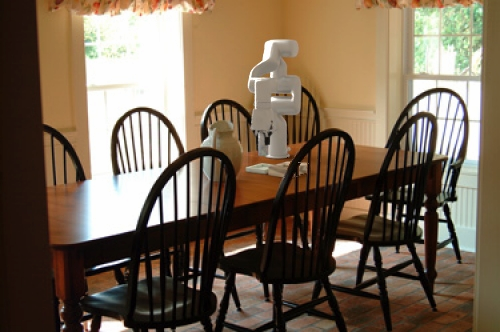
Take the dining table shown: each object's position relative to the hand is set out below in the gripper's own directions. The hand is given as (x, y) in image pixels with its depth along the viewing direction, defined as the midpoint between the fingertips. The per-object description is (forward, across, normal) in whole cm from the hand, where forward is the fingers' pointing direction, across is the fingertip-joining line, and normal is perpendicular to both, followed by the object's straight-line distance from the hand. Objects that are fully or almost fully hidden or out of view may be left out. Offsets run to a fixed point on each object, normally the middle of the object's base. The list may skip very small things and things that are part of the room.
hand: (263, 144), depth 349 cm
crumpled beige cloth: (+13, +14, +1) cm, 19 cm away
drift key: (+13, +14, +9) cm, 21 cm away
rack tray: (+13, 0, 0) cm, 13 cm away
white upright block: (+5, 0, 0) cm, 5 cm away
